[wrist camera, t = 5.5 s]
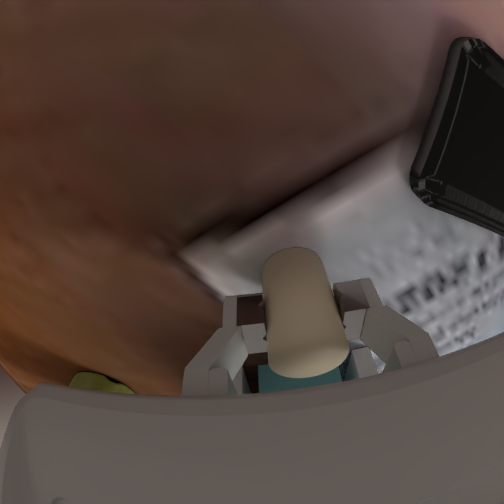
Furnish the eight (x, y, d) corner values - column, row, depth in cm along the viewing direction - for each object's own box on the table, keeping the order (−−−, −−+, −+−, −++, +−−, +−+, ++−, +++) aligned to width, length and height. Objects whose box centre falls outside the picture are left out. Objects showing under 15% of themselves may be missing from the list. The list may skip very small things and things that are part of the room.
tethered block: (348, 240, 12) (411, 388, 6) (329, 388, 20) (344, 470, 14) (231, 255, 12) (226, 418, 7) (265, 396, 20) (270, 480, 15)
